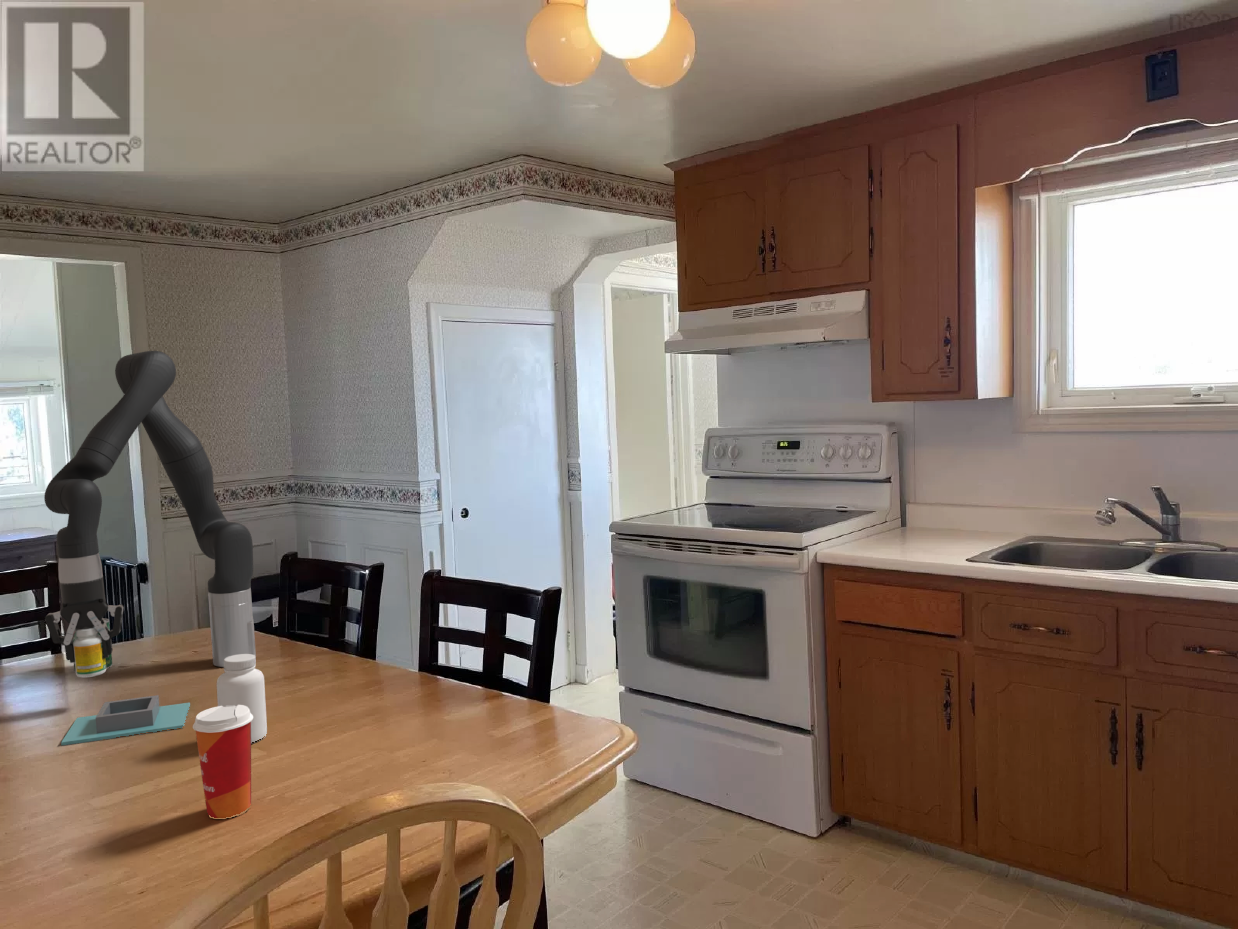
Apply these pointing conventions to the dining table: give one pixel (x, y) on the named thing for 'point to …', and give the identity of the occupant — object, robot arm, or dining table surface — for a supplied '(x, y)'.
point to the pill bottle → (244, 690)
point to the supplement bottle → (88, 653)
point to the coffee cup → (225, 758)
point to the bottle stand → (127, 720)
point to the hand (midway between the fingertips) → (89, 659)
